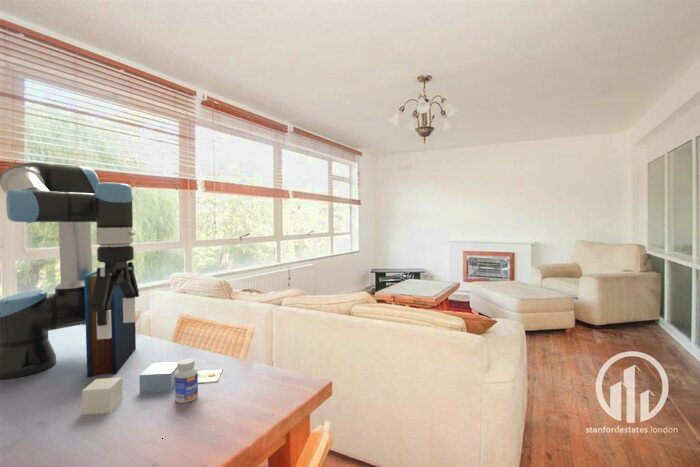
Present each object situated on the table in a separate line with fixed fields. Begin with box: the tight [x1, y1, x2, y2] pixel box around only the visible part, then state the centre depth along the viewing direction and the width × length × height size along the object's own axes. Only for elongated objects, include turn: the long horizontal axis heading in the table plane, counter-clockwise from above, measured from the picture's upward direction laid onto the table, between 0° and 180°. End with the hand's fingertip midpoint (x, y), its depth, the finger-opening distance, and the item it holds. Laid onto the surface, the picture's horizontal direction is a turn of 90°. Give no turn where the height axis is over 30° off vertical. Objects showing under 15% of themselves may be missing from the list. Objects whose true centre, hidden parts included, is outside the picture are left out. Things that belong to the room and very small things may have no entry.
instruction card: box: [198, 368, 223, 384], centre depth 102 cm, size 10×8×1 cm
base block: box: [138, 361, 178, 394], centre depth 97 cm, size 8×8×5 cm
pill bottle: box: [174, 357, 199, 404], centre depth 90 cm, size 5×5×10 cm
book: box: [84, 264, 137, 378], centre depth 113 cm, size 24×9×30 cm, turn 18°
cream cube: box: [81, 376, 124, 416], centre depth 85 cm, size 6×6×6 cm
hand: (117, 329), depth 87 cm, fingers open, 13 cm apart
